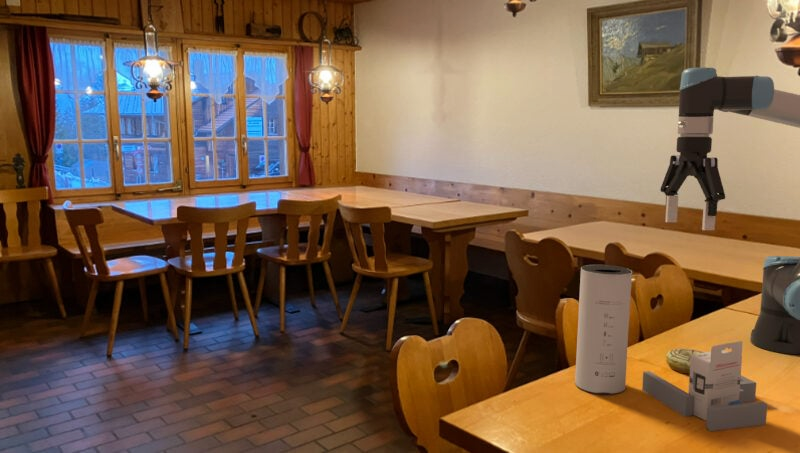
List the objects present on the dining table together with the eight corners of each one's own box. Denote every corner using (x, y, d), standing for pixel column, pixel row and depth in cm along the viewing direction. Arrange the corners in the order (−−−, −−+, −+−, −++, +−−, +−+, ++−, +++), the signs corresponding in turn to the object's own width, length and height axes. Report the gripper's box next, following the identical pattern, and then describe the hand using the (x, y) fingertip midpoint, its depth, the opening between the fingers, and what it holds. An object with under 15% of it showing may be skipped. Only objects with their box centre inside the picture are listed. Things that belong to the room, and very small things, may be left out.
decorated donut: (712, 381, 150) (713, 364, 150) (661, 371, 156) (661, 355, 156) (719, 366, 159) (720, 351, 158) (670, 358, 165) (671, 343, 164)
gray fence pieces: (717, 382, 149) (718, 364, 148) (792, 421, 129) (794, 401, 129) (642, 389, 144) (643, 371, 144) (708, 431, 125) (709, 410, 124)
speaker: (626, 380, 150) (632, 263, 146) (626, 398, 140) (633, 273, 136) (576, 375, 153) (580, 260, 149) (573, 392, 143) (578, 270, 140)
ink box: (717, 405, 137) (723, 333, 135) (739, 414, 132) (744, 340, 130) (686, 412, 133) (690, 338, 131) (706, 422, 129) (711, 346, 127)
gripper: (648, 135, 171) (644, 219, 174) (717, 136, 147) (710, 234, 150) (675, 135, 173) (670, 218, 176) (747, 136, 149) (740, 233, 152)
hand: (688, 226), depth 163 cm, fingers open, 13 cm apart
